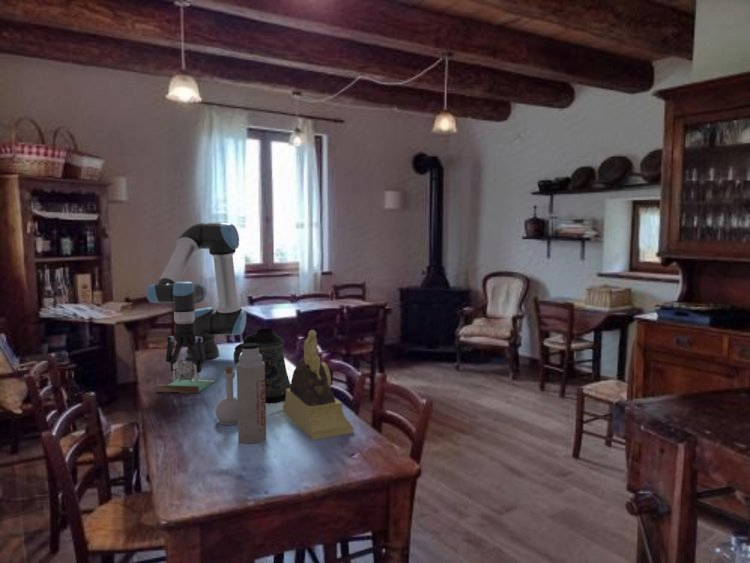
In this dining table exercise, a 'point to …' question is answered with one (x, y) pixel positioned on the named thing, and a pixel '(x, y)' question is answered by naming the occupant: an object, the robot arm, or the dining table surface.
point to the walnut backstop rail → (178, 389)
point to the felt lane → (195, 383)
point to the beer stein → (269, 363)
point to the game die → (185, 370)
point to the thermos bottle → (251, 395)
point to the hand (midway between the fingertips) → (186, 380)
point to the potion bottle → (228, 401)
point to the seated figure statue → (314, 397)
